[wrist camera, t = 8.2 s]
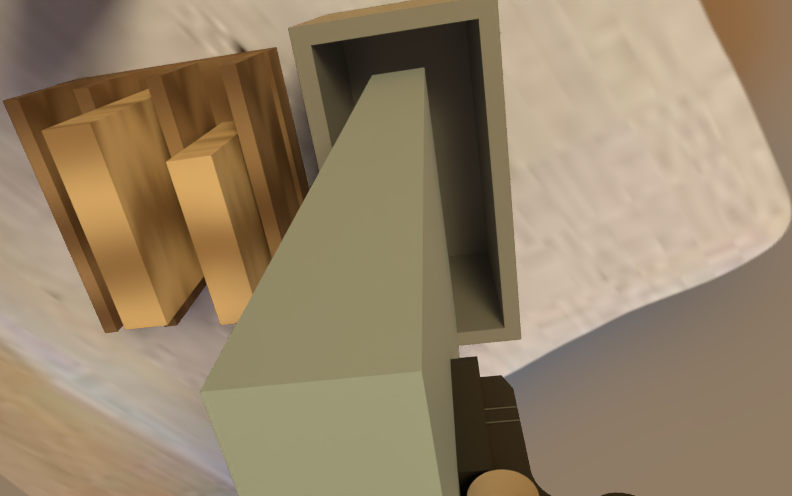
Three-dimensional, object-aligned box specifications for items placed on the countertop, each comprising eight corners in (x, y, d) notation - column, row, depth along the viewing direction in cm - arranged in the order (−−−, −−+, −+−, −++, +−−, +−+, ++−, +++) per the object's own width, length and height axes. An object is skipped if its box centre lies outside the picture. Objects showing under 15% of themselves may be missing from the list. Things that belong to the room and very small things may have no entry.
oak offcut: (147, 88, 33) (41, 130, 24) (183, 83, 32) (90, 123, 23) (198, 243, 37) (125, 329, 28) (230, 239, 37) (167, 325, 28)
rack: (75, 79, 35) (-3, 101, 28) (276, 47, 33) (241, 63, 27) (151, 278, 40) (100, 333, 34) (324, 257, 39) (305, 311, 33)
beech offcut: (222, 122, 33) (165, 161, 26) (257, 117, 33) (210, 155, 26) (260, 257, 37) (220, 324, 30) (292, 253, 37) (260, 320, 30)
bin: (326, 14, 32) (288, 28, 23) (476, -11, 31) (497, -7, 22) (374, 269, 39) (359, 355, 30) (498, 254, 38) (521, 339, 29)
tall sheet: (372, 75, 24) (199, 392, 6) (424, 67, 23) (421, 371, 5) (412, 317, 29) (390, 893, 11) (455, 312, 28) (507, 895, 10)
